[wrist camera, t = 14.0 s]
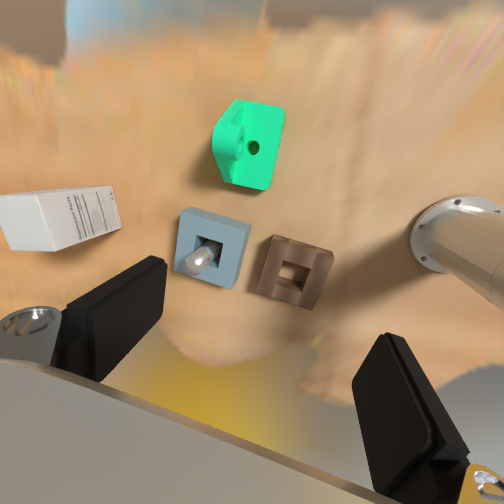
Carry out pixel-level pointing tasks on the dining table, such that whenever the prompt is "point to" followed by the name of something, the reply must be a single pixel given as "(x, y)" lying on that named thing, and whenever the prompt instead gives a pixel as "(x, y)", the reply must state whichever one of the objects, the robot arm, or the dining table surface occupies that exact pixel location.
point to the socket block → (218, 229)
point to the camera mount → (248, 143)
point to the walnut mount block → (300, 255)
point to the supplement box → (57, 217)
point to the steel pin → (202, 257)
